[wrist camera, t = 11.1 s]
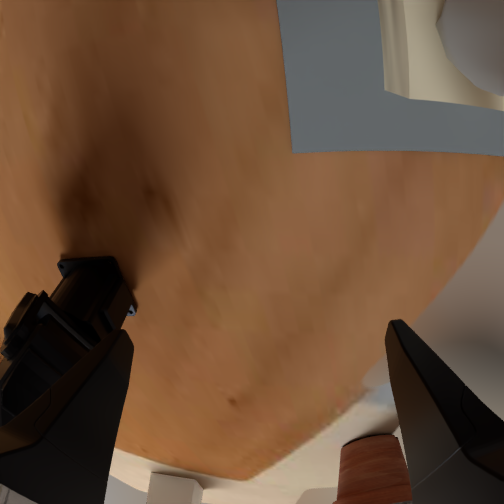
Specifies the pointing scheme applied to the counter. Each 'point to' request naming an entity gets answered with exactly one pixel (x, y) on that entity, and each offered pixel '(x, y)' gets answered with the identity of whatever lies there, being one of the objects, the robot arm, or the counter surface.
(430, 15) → the beech block
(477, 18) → the salt shaker
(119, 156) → the counter surface
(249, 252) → the counter surface
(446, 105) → the mat
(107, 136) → the counter surface
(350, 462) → the potted plant
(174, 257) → the counter surface
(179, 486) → the milk
